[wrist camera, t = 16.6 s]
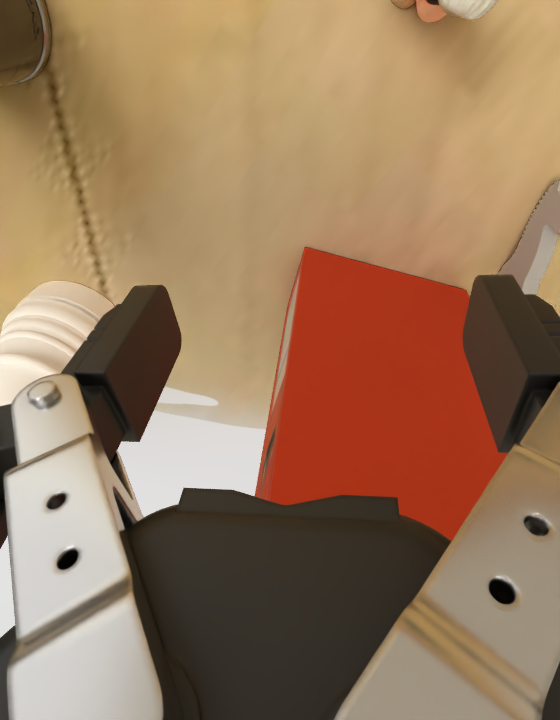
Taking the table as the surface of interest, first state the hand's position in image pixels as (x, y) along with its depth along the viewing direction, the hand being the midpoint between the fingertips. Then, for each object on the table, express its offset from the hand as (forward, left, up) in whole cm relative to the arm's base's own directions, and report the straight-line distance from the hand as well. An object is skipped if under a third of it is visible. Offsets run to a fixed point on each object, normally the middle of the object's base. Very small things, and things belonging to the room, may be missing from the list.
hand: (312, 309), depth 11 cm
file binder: (+4, -19, -30) cm, 36 cm away
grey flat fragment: (+18, -12, -30) cm, 37 cm away
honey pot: (-32, -22, -30) cm, 49 cm away
